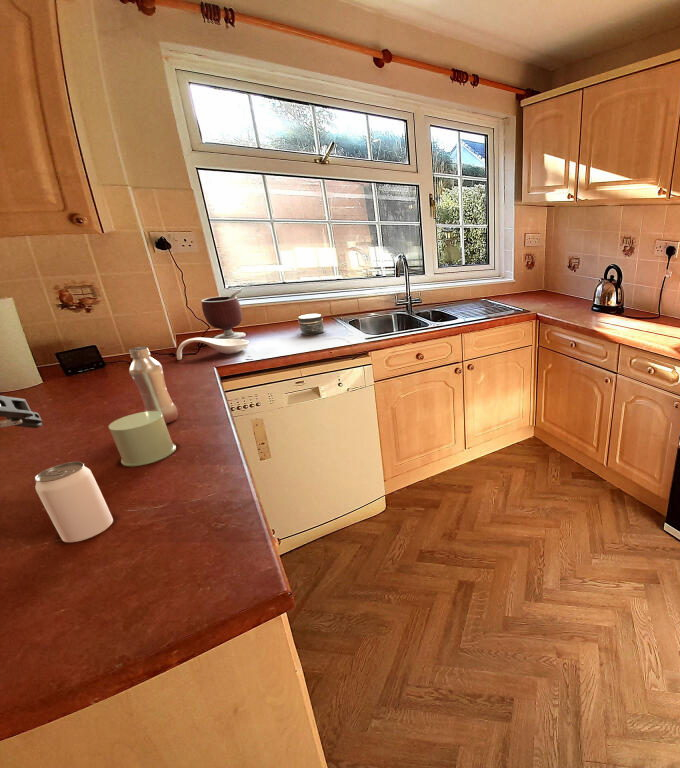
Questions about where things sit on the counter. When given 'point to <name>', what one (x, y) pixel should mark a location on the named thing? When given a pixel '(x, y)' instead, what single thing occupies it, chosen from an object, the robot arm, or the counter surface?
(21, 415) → the robot arm
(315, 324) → the jar
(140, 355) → the plastic bottle
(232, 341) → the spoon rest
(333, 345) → the counter surface
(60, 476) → the can
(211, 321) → the mate gourd
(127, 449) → the cup
